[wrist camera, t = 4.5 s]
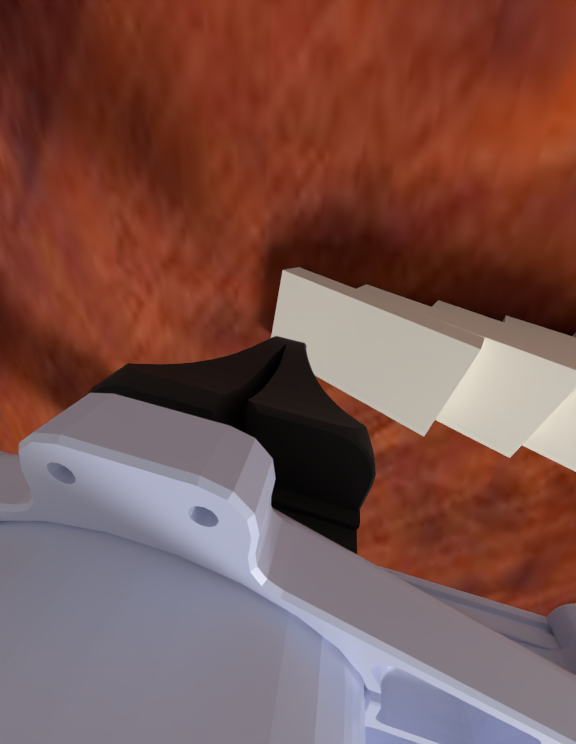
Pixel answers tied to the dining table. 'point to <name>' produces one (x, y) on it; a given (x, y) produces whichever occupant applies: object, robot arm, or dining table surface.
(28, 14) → the dining table surface
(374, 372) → the domino
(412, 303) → the domino
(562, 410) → the domino
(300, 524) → the robot arm
